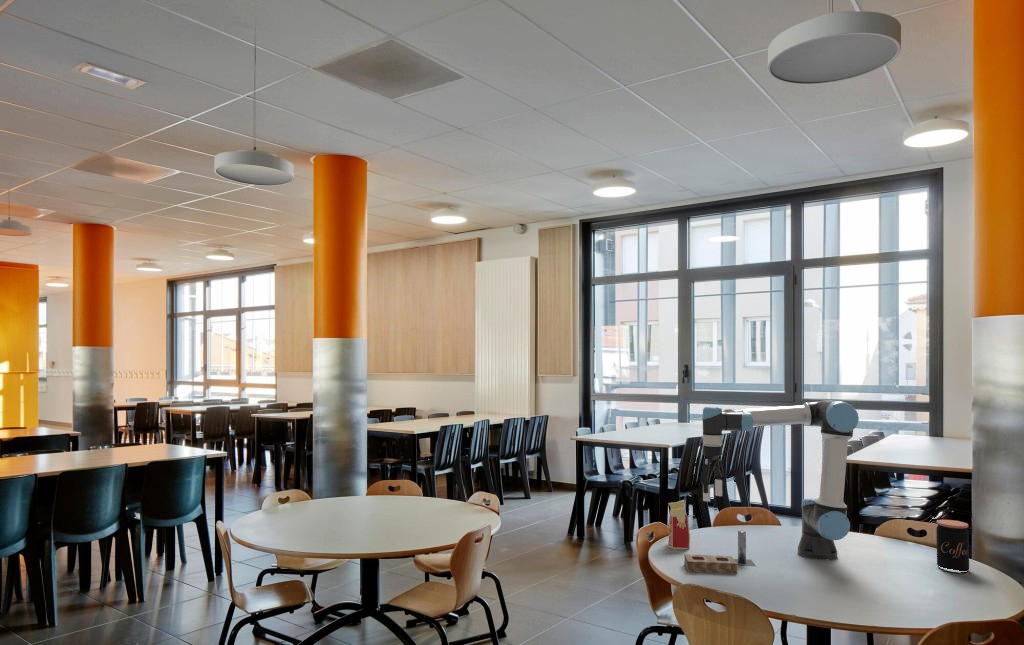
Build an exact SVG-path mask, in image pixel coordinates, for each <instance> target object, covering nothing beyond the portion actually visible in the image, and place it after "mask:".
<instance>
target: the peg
mask: <svg viewBox="0 0 1024 645" xmlns="http://www.w3.org/2000/svg"><path fill="white" fill-rule="evenodd" d="M737 559H738V563H743V564H744V563H746V559H747V531H746V530H745V531H744V530H737Z"/></svg>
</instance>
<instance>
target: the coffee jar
mask: <svg viewBox="0 0 1024 645" xmlns="http://www.w3.org/2000/svg"><path fill="white" fill-rule="evenodd" d="M936 524H937V526H936V532H935V534H936V566H937V567H939V566H940V567H943V568H947V569H953V570H959V571H967V570H968V571H969V570H970V537H969V534H970V532H969V530H968V528H969V524H968V523H967V522H964V521H960V520H952V519H937V520H936ZM968 571H967V572H968Z"/></svg>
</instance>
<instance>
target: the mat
mask: <svg viewBox="0 0 1024 645" xmlns="http://www.w3.org/2000/svg"><path fill="white" fill-rule="evenodd" d="M733 559H734V560H735V561H736V563H737V567H739V566H741V567H757V565H756V563H755V562H754V561H753V560H752V559H747V558H746V563H744V564H743V563H738V558H733Z"/></svg>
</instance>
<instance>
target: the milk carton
mask: <svg viewBox="0 0 1024 645" xmlns="http://www.w3.org/2000/svg"><path fill="white" fill-rule="evenodd" d="M685 502H686V500H685V499H682V500H678V501H676V502H668V503H667V504H668V506H669V507H670V512H669V519H668V543H667V547H668V548H670V549H672V550H684V551H685V550H690V549H691V532H690V524H689V519H688V515H687V512H686V506H685Z"/></svg>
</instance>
